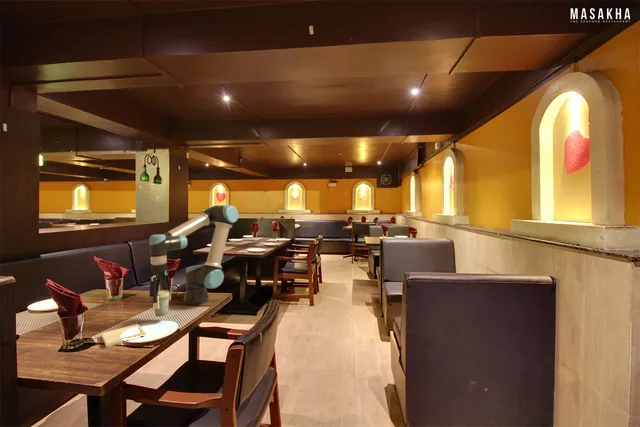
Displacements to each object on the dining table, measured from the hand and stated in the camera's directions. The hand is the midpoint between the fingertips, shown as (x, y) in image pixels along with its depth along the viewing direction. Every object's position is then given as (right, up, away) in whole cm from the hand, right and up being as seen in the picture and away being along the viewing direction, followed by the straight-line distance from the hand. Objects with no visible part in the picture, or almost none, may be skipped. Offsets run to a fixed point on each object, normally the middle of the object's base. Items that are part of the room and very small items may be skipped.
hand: (161, 305), depth 153 cm
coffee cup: (0, -5, 0) cm, 5 cm away
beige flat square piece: (-8, -9, -18) cm, 22 cm away
